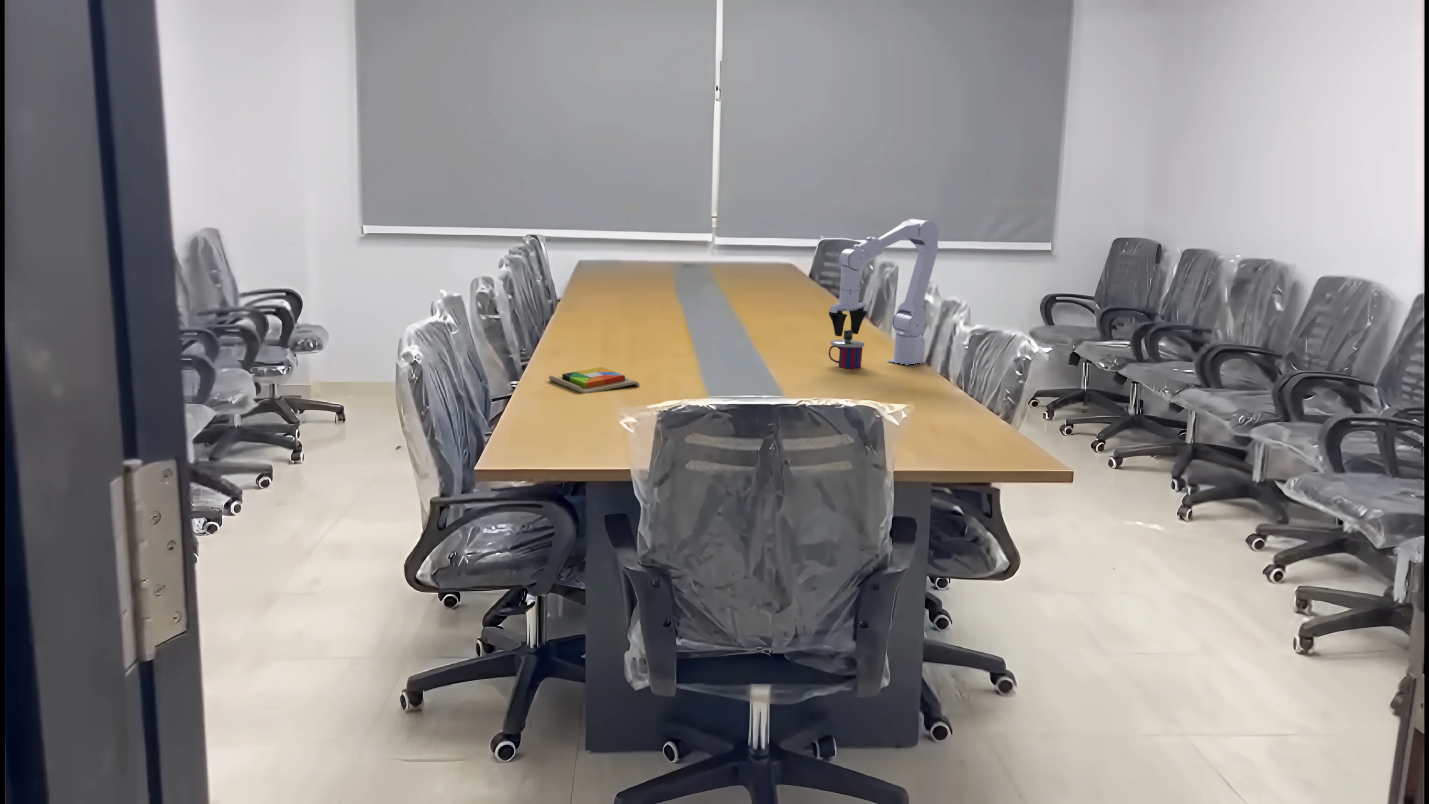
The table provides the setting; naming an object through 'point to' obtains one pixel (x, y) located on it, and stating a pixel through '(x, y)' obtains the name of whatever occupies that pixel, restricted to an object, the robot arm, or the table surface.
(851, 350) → the mug
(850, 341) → the lid
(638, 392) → the table surface
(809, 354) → the table surface
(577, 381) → the wooden puzzle
